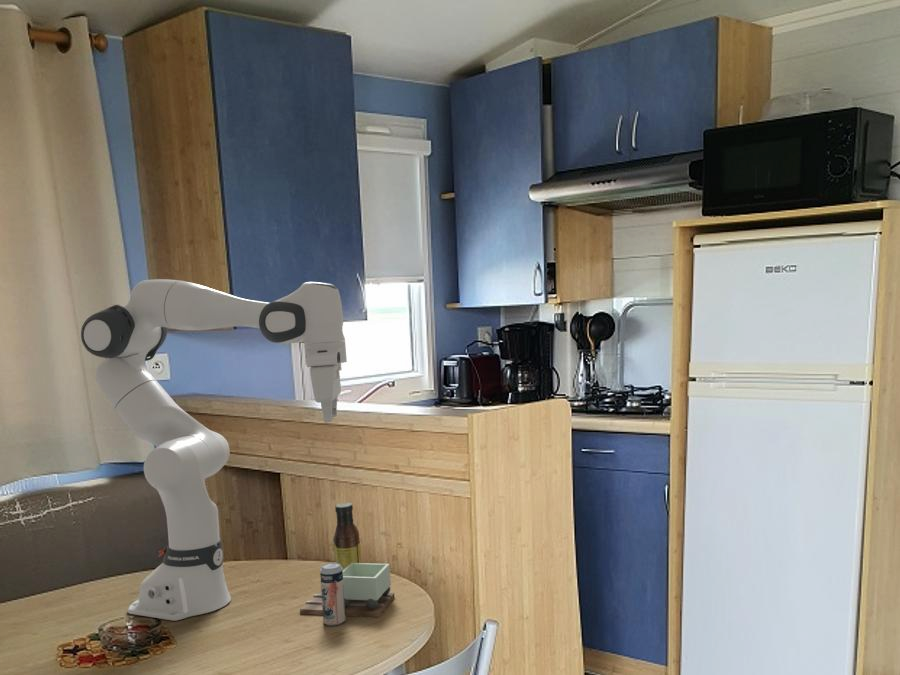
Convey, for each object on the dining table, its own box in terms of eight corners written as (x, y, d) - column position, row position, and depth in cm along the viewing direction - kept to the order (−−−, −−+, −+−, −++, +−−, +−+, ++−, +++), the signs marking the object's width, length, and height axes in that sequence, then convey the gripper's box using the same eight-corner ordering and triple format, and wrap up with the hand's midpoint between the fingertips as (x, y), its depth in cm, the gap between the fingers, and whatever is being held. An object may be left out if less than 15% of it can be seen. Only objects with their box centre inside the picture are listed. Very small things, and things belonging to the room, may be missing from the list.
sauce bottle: (350, 580, 180) (345, 499, 180) (369, 584, 176) (364, 502, 176) (330, 589, 175) (325, 505, 174) (349, 593, 171) (344, 508, 171)
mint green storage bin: (337, 608, 159) (335, 577, 159) (353, 592, 169) (351, 562, 168) (377, 610, 157) (375, 578, 157) (391, 594, 166) (389, 563, 166)
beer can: (318, 623, 155) (314, 566, 155) (336, 615, 158) (333, 560, 158) (332, 628, 152) (328, 570, 151) (350, 621, 155) (347, 564, 155)
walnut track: (300, 613, 161) (299, 607, 161) (320, 594, 171) (320, 588, 171) (378, 617, 156) (377, 610, 156) (394, 597, 167) (394, 591, 167)
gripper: (316, 355, 171) (321, 414, 171) (304, 358, 150) (310, 426, 150) (344, 353, 171) (349, 412, 171) (335, 356, 150) (341, 424, 151)
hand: (330, 419), depth 161 cm, fingers open, 8 cm apart
